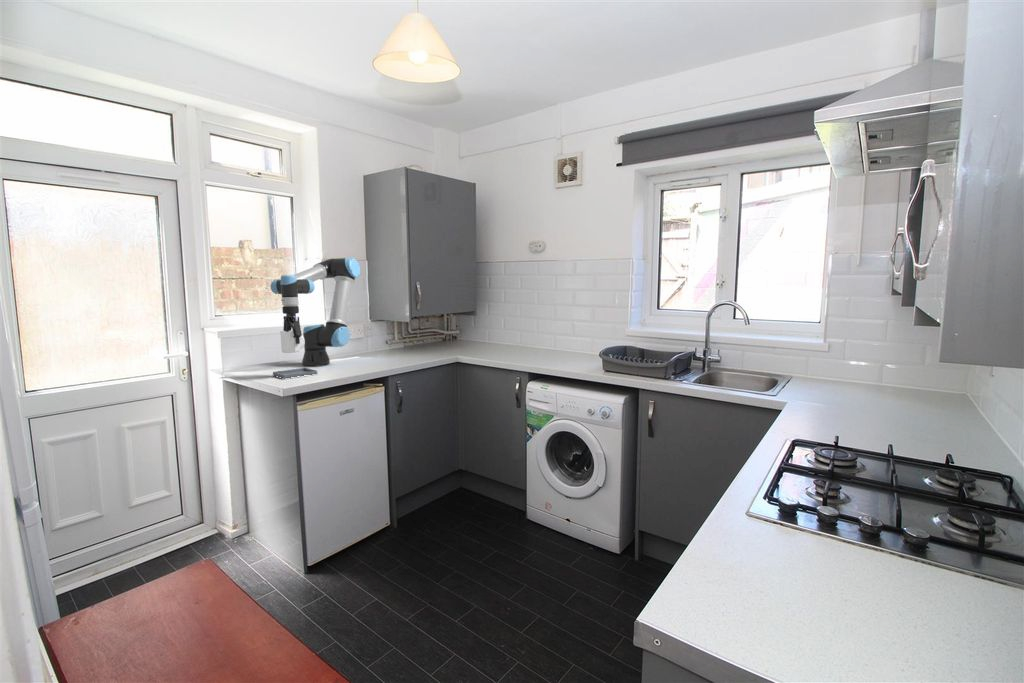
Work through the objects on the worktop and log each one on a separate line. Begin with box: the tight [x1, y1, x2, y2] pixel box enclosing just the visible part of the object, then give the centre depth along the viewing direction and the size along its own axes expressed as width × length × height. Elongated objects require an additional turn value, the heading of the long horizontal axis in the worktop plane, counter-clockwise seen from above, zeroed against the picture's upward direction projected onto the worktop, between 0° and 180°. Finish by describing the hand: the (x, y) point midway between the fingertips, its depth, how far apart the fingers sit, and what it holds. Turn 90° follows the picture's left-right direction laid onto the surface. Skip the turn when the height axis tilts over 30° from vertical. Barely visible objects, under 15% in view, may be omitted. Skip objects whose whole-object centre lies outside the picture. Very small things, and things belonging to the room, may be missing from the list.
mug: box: [279, 329, 305, 354], centre depth 245 cm, size 9×12×11 cm
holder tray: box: [272, 367, 318, 380], centre depth 247 cm, size 17×15×2 cm
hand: (293, 349), depth 246 cm, fingers closed on mug, 10 cm apart
